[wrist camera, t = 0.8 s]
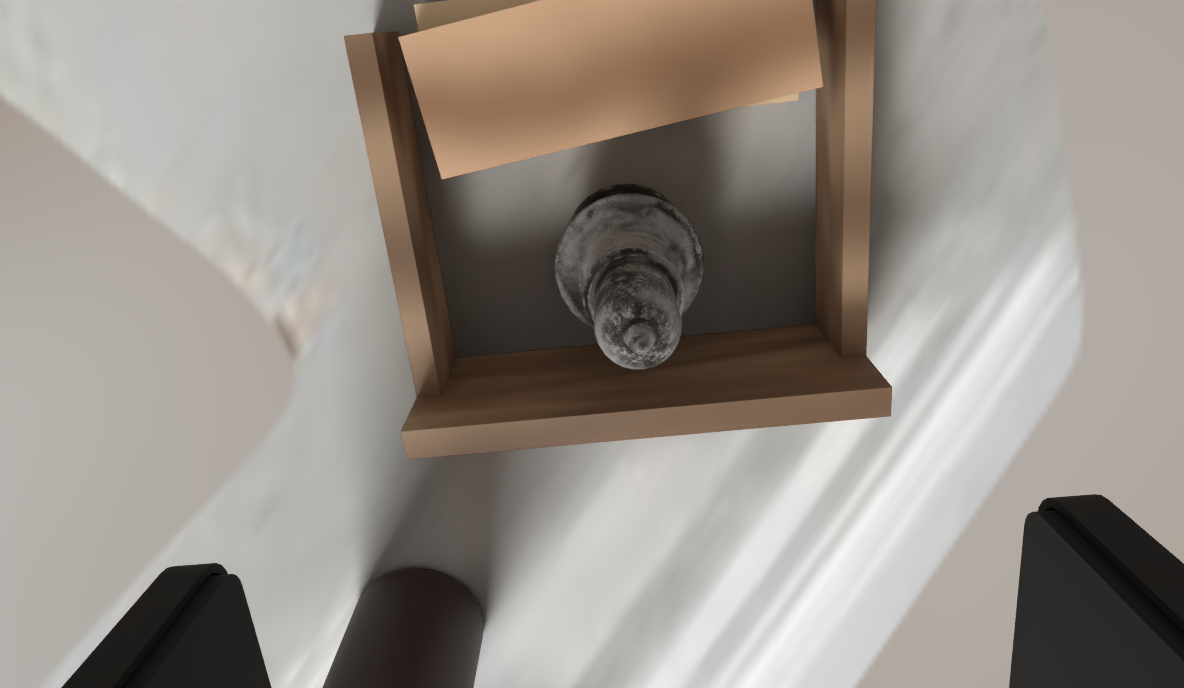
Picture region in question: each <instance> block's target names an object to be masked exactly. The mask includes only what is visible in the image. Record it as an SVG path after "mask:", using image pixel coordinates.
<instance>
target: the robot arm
mask: <svg viewBox="0 0 1184 688" xmlns="http://www.w3.org/2000/svg"><path fill="white" fill-rule="evenodd" d="M1010 674H1011V675H1010V684H1009V688H1184V564H1183V563H1182V562H1181V561H1180V560H1179V559H1177V558H1176V557H1175V556H1174V555H1173V554H1172V553H1170V552H1169V551H1168V550H1167V549H1166V548H1164V547H1163V546H1162V545H1161V544H1159V542H1157V541H1156V540H1155V539H1154V538H1153V537H1152V536H1150V535H1149V534H1148V533H1147V532H1146V531H1145V530H1143V529H1142V528H1141V527H1140V526H1139V525H1137V524H1136V523H1135V522H1134V521H1133V520H1132V519H1131V518H1129V517H1128V516H1127V515H1126V514H1125V513H1123V512H1122V511H1121V510H1120V509H1119V508H1118V507H1116V506H1115V505H1114V504H1113V503H1112V502H1111V501H1109V500H1108V499H1107V498H1105V497H1103V496H1102V495H1095V494H1094V495H1080V496H1067V497H1056V498H1047V499H1045V500H1043V501H1042V503H1041V504H1040V506H1039V509H1038V512H1031V513H1029V514H1028V515H1027V517H1026V520H1025V525H1024V535H1023V545H1022V556H1021V567H1020V577H1019V588H1018V598H1017V609H1016V620H1015V631H1014V641H1013V652H1012V663H1011V673H1010ZM62 688H271V685H270V681H269V678H268V674H267V671H266V667H265V664H264V660H263V657H262V653H261V650H260V646H259V643H258V639H257V636H256V632H255V629H254V625H253V621H252V618H251V614H250V611H249V607H248V604H247V600H246V597H245V593H244V590H243V586H242V584H241V581H240V579H239V578H238V577H237V576H236V575H234V574H228V573H227V571H226V570H225V568H224V567H223V566H222V565H220V564H217V563H211V564H198V565H185V566H173V567H169V568H167V569H165V570H164V571H163V572H162V573H161V574H160V575H159V576H158V577H157V578H156V579H155V581H154V582H153V583H152V584H151V585H150V586H149V587H148V589H147V590H146V591H145V592H144V593H143V594H142V596H141V597H140V598H139V599H138V600H137V601H136V602H135V604H134V605H133V606H132V607H131V608H130V609H129V611H128V612H127V613H126V614H125V615H124V616H123V617H122V619H121V620H120V621H119V622H118V623H117V624H116V626H115V627H114V628H113V629H112V630H111V631H110V632H109V634H108V635H107V636H106V637H105V638H104V639H103V640H102V642H101V643H100V644H99V645H98V646H97V647H96V649H95V650H94V651H93V652H92V653H91V654H90V655H89V657H88V658H87V659H86V660H85V661H84V662H83V664H82V665H81V666H80V667H79V668H78V669H77V670H76V672H75V673H74V674H73V675H72V676H71V677H70V679H69V680H68V681H67V682H66V683H65V684H64V685H63V687H62Z"/></svg>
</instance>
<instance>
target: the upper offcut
mask: <svg viewBox="0 0 1184 688" xmlns="http://www.w3.org/2000/svg"><path fill="white" fill-rule="evenodd" d="M398 39H399V42H400V45H401V48H402V52H403V55H404V58H405V61H406V65H407V68H408V71H409V74H410V78H411V81H412V84H413V87H414V91H415V94H416V97H417V100H418V104H419V107H420V110H421V113H422V117H423V120H424V123H425V126H426V130H427V133H428V136H429V139H430V143H431V146H432V149H433V152H434V156H435V159H436V162H437V165H438V169H439V172H440V175H441V178H442V179H446V178H450V177H454V176H458V175H462V174H466V173H471V172H475V171H479V170H483V169H487V168H491V167H495V166H499V165H504V164H508V163H512V162H516V161H520V160H524V159H528V158H532V157H536V156H541V155H545V154H549V153H553V152H557V151H561V150H565V149H569V148H573V147H578V146H582V145H586V144H590V143H594V142H598V141H602V140H606V139H611V138H615V137H619V136H623V135H627V134H631V133H635V132H639V131H643V130H648V129H652V128H656V127H660V126H664V125H668V124H672V123H676V122H681V121H685V120H689V119H693V118H697V117H701V116H705V115H709V114H713V113H718V112H722V111H726V110H730V109H734V108H738V107H742V106H746V105H750V104H755V103H759V102H763V101H767V100H771V99H775V98H779V97H783V96H788V95H792V94H796V93H800V92H804V91H808V90H812V89H816V88H820V87H823V82H822V74H821V66H820V57H819V49H818V41H817V33H816V25H815V17H814V8H813V0H539V1H535V2H532V3H528V4H524V5H520V6H516V7H512V8H508V9H505V10H501V11H497V12H493V13H489V14H485V15H482V16H478V17H474V18H470V19H466V20H462V21H459V22H455V23H451V24H447V25H443V26H439V27H435V28H432V29H428V30H424V31H420V32H416V33H412V34H409V35H405V36H401V37H398Z"/></svg>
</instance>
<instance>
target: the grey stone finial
mask: <svg viewBox="0 0 1184 688" xmlns="http://www.w3.org/2000/svg"><path fill="white" fill-rule="evenodd" d="M703 269H704V255H703V251H702V247H701V243H700V239H699V237H698V235H697V233H696V232H695V230H694V228H693V226H692V225H691V223H690V221H689V220H688V219H687V218H686V217H685V216H684V215H683V214H682V213H681V212H680V211H679V210H678V209H677V208H676V207H674V206H673V205H672V204H671V203H670V202H669V201H668V200H667V199H666V198H665V197H664V196H663V195H661V194H659V193H657V192H655V191H654V190H652V189H650V188H647V187H642V186H638V185H634V184H626V185H615V186H611V187H608V188H604V189H601V190H600V191H598V192H596V193H595V194H593V195H591V196H590V197H588V198H587V199H586V200H585V201H584V202H583V203H582V204H581V205H580V206H579V207H578V208H577V210H576V211H575V213H574V215H573V217H572V219H571V221H570V222H569V224H568V226H567V228H566V230H565V231H564V233H563V235H562V237H561V239H560V241H559V244H558V249H557V253H556V258H555V274H556V281H557V285H558V288H559V291H560V294H561V297H562V298H563V300H564V301H565V303H566V304H567V306H568V307H569V309H570V310H571V312H572V313H573V314H574V315H575V316H576V317H578V318H579V319H580V320H581V321H582V322H583V323H584V324H586V325H587V326H589V327H591V328H593V329H594V330H595V336H596V339H597V342H598V344H599V346H600V347H601V349H602V350H603V352H604V353H605V355H606V356H607V357H608V358H610V359H611V360H612V361H613V362H614V363H616V364H618V365H620V366H622V367H625V368H629V369H647V368H651V367H654V366H656V365H658V364H660V363H662V362H664V361H665V360H666V359H667V358H668V357H669V356H670V355H671V354H672V353H673V351H674V350H675V348H676V346H677V345H678V342H679V339H680V335H681V332H682V318H681V316H682V315H683V314H684V313H685V312H686V311H687V310H688V309H689V307H690V305H691V304H692V302H693V300H694V299H695V297H696V296H697V294H698V291H699V288H700V285H701V281H702V278H703Z"/></svg>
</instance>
